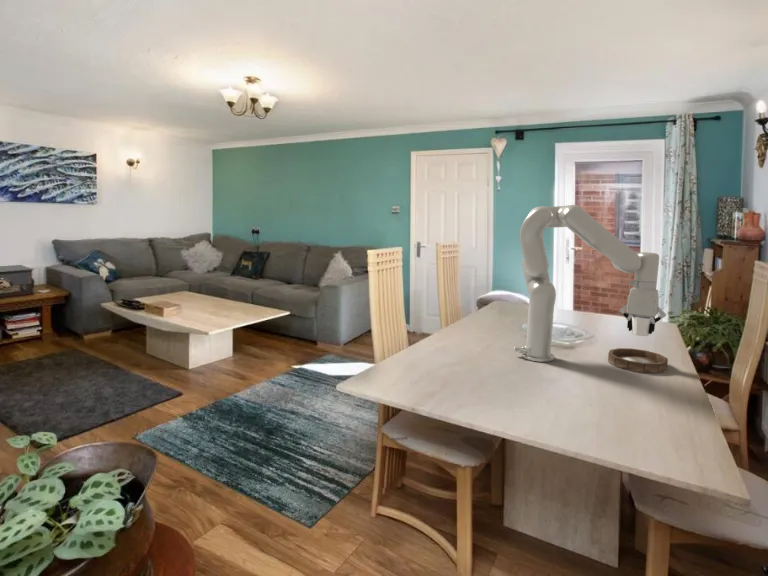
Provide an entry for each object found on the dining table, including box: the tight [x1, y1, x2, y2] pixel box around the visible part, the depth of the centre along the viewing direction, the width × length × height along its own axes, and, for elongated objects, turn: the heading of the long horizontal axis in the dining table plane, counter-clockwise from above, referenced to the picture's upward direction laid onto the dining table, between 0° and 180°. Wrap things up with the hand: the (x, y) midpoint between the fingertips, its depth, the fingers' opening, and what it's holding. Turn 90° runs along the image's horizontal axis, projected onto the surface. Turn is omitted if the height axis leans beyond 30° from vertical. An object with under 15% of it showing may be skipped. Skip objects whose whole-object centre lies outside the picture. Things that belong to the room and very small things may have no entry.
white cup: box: [631, 315, 651, 337], centre depth 174 cm, size 7×7×7 cm
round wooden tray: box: [607, 347, 669, 374], centre depth 177 cm, size 20×20×4 cm
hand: (640, 331), depth 175 cm, fingers closed on white cup, 6 cm apart
